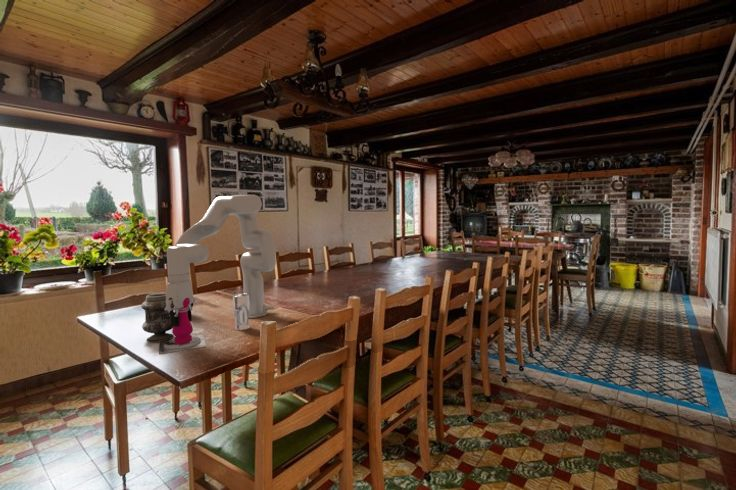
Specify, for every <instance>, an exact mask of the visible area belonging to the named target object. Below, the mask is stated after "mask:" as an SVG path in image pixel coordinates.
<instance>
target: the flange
mask: <svg viewBox="0 0 736 490" xmlns="http://www.w3.org/2000/svg"><path fill="white" fill-rule="evenodd" d="M191 336H192V341H190V342H188V343H184V344H176V343H174V338H171V339H168V340H165V341H159V347H158V355H162V354H163V355H164V354H171V353H178V352H182V351H190V350H196V349H202V348H206V347H207V344H206V340H205V337H204V334H197V335H191Z"/></svg>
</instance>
